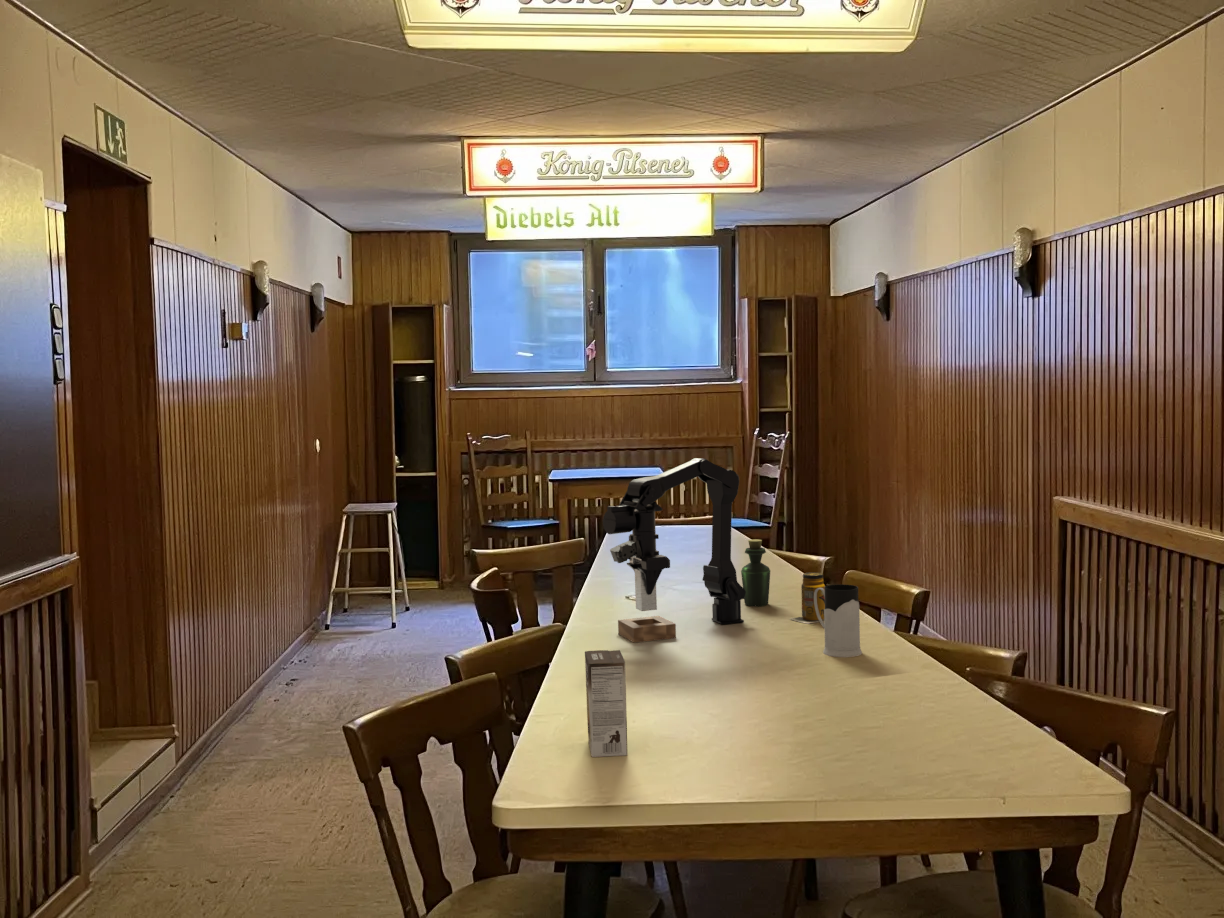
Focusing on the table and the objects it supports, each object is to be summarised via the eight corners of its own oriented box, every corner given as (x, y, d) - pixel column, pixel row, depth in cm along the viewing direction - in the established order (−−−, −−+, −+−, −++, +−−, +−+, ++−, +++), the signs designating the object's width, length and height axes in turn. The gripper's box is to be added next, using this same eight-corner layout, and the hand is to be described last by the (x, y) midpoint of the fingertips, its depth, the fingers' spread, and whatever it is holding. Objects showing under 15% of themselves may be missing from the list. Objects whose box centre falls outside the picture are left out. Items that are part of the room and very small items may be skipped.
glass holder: (839, 659, 252) (838, 592, 251) (800, 646, 265) (799, 583, 264) (870, 653, 256) (869, 587, 255) (830, 642, 269) (829, 579, 268)
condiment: (832, 619, 294) (831, 573, 293) (808, 624, 289) (807, 577, 289) (813, 615, 300) (812, 570, 299) (789, 619, 296) (788, 574, 295)
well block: (659, 629, 289) (658, 615, 288) (675, 637, 278) (675, 623, 278) (618, 633, 285) (618, 619, 285) (634, 642, 275) (633, 628, 274)
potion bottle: (770, 601, 321) (769, 538, 320) (771, 607, 313) (770, 542, 312) (741, 601, 322) (740, 538, 321) (742, 607, 314) (740, 542, 312)
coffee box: (587, 741, 199) (584, 650, 198) (623, 739, 200) (620, 648, 199) (590, 757, 190) (587, 663, 189) (628, 755, 191) (625, 661, 190)
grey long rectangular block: (650, 606, 284) (649, 567, 283) (656, 609, 280) (655, 569, 279) (635, 608, 282) (634, 568, 282) (641, 611, 279) (640, 570, 278)
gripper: (600, 528, 286) (602, 590, 287) (626, 537, 268) (628, 602, 269) (641, 525, 290) (643, 585, 291) (670, 533, 272) (672, 598, 273)
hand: (645, 592), depth 281 cm, fingers closed on grey long rectangular block, 4 cm apart
